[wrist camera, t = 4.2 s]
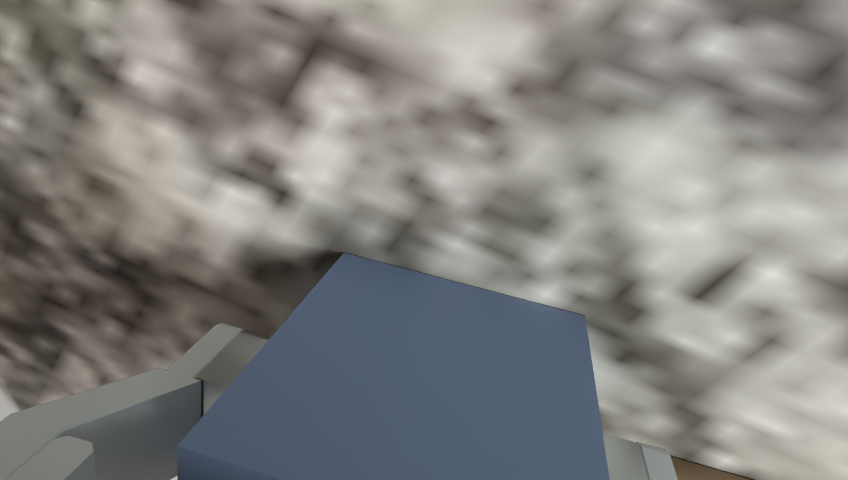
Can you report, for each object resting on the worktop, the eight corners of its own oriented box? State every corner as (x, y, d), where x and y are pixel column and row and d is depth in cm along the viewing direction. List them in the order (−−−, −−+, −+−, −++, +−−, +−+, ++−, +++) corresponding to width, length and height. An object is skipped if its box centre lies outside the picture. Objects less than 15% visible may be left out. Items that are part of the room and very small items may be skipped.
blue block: (343, 252, 12) (177, 446, 6) (584, 315, 11) (626, 589, 6) (330, 357, 13) (180, 595, 8) (546, 420, 12) (550, 727, 7)
